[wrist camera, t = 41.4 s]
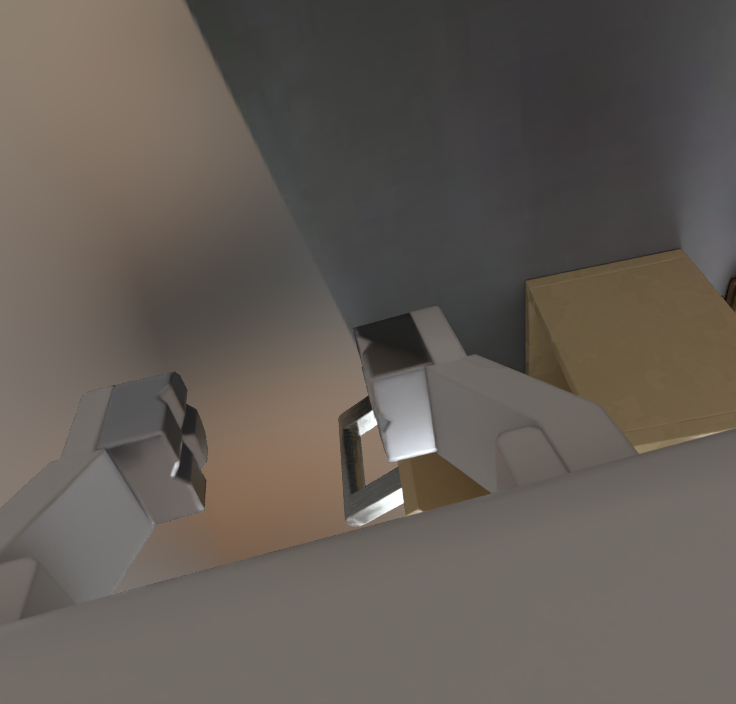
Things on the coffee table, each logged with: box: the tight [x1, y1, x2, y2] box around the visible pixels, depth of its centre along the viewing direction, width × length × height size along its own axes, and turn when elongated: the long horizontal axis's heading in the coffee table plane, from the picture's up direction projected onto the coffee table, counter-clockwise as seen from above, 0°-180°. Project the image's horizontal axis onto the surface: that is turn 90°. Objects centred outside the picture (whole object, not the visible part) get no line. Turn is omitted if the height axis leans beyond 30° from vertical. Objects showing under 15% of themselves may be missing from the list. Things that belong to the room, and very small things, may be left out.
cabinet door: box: [338, 396, 492, 527], centre depth 45 cm, size 7×19×15 cm, turn 43°
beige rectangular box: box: [525, 249, 736, 454], centre depth 42 cm, size 11×19×15 cm, turn 11°
